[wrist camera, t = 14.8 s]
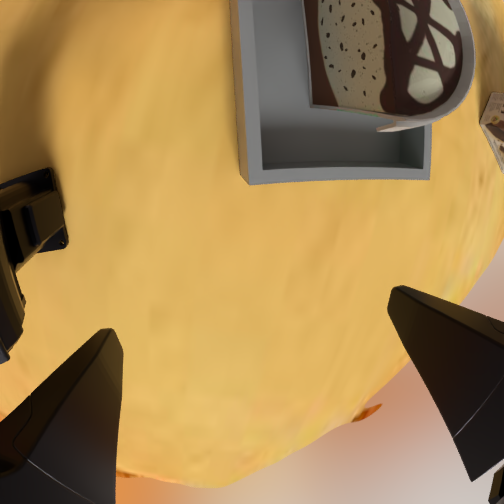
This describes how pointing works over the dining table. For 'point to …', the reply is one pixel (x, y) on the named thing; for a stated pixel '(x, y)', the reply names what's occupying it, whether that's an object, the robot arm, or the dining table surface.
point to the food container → (389, 58)
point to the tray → (305, 111)
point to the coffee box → (495, 125)
